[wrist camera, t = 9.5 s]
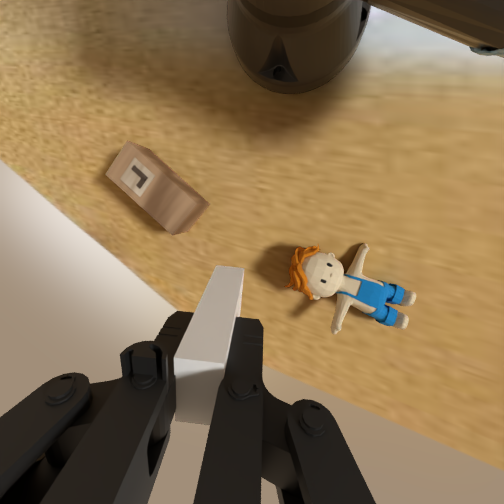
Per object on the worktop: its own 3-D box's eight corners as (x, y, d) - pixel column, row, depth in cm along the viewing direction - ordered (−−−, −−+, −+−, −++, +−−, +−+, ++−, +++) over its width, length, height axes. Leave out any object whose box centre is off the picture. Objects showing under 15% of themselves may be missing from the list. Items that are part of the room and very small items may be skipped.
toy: (402, 364, 27) (275, 310, 27) (371, 350, 33) (267, 305, 33) (433, 263, 29) (314, 211, 29) (398, 266, 35) (299, 223, 35)
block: (196, 203, 29) (126, 139, 29) (171, 235, 31) (103, 174, 31) (210, 204, 35) (150, 149, 34) (188, 231, 36) (130, 178, 36)
